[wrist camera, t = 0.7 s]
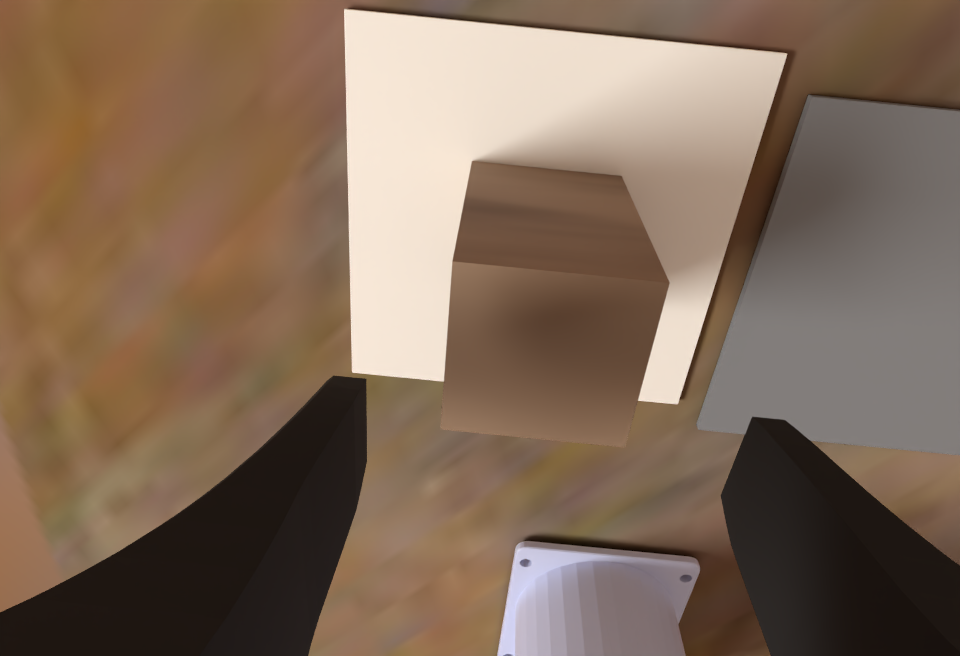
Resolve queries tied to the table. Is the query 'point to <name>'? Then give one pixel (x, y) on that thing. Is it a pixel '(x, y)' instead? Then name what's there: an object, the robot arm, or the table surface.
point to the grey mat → (854, 285)
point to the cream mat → (536, 162)
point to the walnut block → (549, 306)
